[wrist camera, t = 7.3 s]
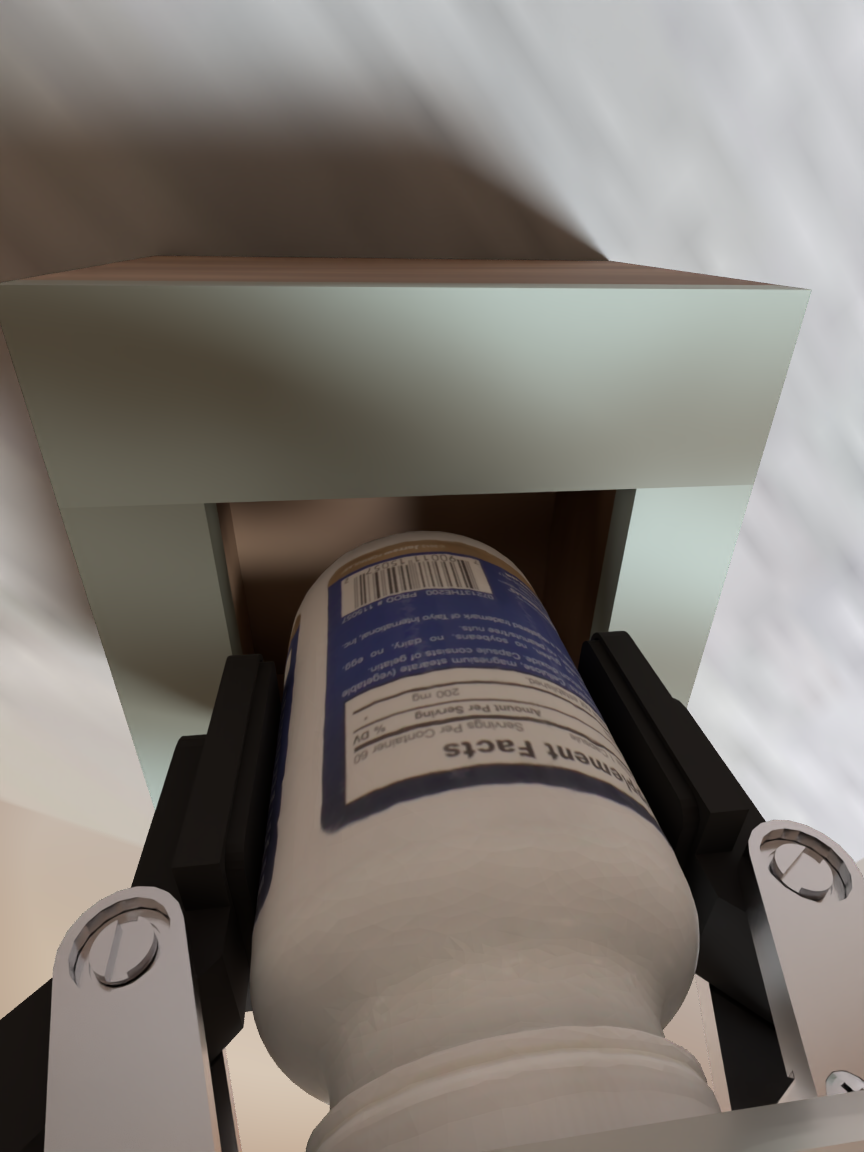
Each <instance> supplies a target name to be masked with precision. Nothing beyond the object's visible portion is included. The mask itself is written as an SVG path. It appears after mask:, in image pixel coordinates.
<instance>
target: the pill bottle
mask: <svg viewBox="0 0 864 1152" xmlns="http://www.w3.org/2000/svg"><path fill="white" fill-rule="evenodd" d="M699 941H700V939H699V921H698V914H697V910H696V906H695V903H694V899H693V896H692V893H691V890H690V887H689V885H688V882H687V880H686V878H685V876H684V874H683V872H682V870H681V867H680V865H679V863H678V861H677V858H676V856H675V853H674V851H673V849H672V847H671V845H670V843H669V842H668V840H667V838H666V837H665V835H664V833H663V832H662V830H661V828H660V826H659V824H658V822H657V820H656V818H655V816H654V814H653V812H652V810H651V809H650V807H649V805H648V803H647V801H646V799H645V797H644V795H643V793H642V792H641V790H640V788H639V786H638V784H637V783H636V781H635V778H634V776H633V775H632V773H631V771H630V769H629V767H628V765H627V763H626V761H625V759H624V757H623V756H622V754H621V752H620V750H619V748H618V747H617V745H616V743H615V741H614V739H613V737H612V735H611V733H610V731H609V729H608V727H607V725H606V723H605V721H604V719H603V718H602V716H601V714H600V712H599V710H598V708H597V707H596V705H595V703H594V701H593V699H592V697H591V696H590V694H589V692H588V690H587V688H586V686H585V684H584V682H583V680H582V678H581V676H580V674H579V672H578V670H577V668H576V667H575V665H574V663H573V661H572V659H571V657H570V655H569V653H568V652H567V650H566V648H565V646H564V644H563V643H562V641H561V639H560V637H559V635H558V633H557V631H556V629H555V627H554V625H553V623H552V622H551V620H550V617H549V615H548V613H547V611H546V609H545V608H544V606H543V605H542V603H541V602H540V600H539V598H538V596H537V595H536V593H535V591H534V590H533V588H532V586H531V585H530V583H529V582H528V580H527V579H526V577H525V576H524V575H523V573H522V572H521V571H520V570H519V569H518V568H517V567H516V566H515V565H514V563H513V562H512V561H510V560H509V559H508V558H506V557H505V556H504V555H502V554H501V553H499V552H498V551H496V550H495V549H494V548H492V547H490V546H488V545H486V544H484V543H482V542H480V541H477V540H474V539H471V538H468V537H465V536H462V535H457V534H453V533H448V532H441V531H411V532H405V533H399V534H394V535H390V536H386V537H383V538H379V539H376V540H373V541H370V542H367V543H364V544H362V545H360V546H359V547H357V548H355V549H353V550H351V551H349V552H347V553H345V554H344V555H343V556H341V557H340V558H339V559H337V560H336V561H335V562H334V563H333V564H332V565H331V566H330V567H329V568H327V569H326V570H325V571H324V572H323V573H322V574H321V576H320V577H319V578H318V579H317V580H316V582H315V583H314V584H313V585H312V587H311V588H310V589H309V590H308V592H307V594H306V595H305V597H304V599H303V601H302V603H301V605H300V607H299V610H298V612H297V614H296V617H295V620H294V624H293V628H292V632H291V638H290V642H289V648H288V655H287V660H286V666H285V679H284V691H283V697H282V703H281V714H280V722H279V730H278V738H277V746H276V754H275V762H274V770H273V778H272V785H271V793H270V801H269V810H268V819H267V827H266V836H265V844H264V852H263V859H262V866H261V872H260V880H259V888H258V896H257V905H256V913H255V920H254V926H253V933H252V952H251V967H250V996H251V1005H252V1011H253V1015H254V1020H255V1023H256V1026H257V1029H258V1032H259V1035H260V1037H261V1039H262V1041H263V1043H264V1045H265V1047H266V1049H267V1051H268V1052H269V1054H270V1056H271V1057H272V1058H273V1060H274V1061H275V1063H276V1064H277V1066H278V1067H279V1068H280V1069H281V1070H282V1072H283V1073H284V1074H285V1075H286V1076H287V1077H288V1078H289V1079H290V1080H291V1081H292V1082H293V1083H295V1084H296V1085H297V1086H299V1087H300V1088H301V1089H303V1090H304V1091H305V1092H307V1093H308V1094H310V1095H311V1096H313V1097H315V1098H317V1099H319V1100H321V1101H322V1102H324V1103H326V1104H328V1105H330V1111H329V1113H328V1114H327V1115H326V1116H325V1117H324V1118H323V1119H322V1121H321V1122H320V1123H319V1124H318V1126H317V1127H316V1128H315V1129H314V1130H313V1132H312V1134H311V1136H310V1138H309V1140H308V1143H307V1147H306V1152H482V1151H488V1150H494V1149H500V1148H506V1147H512V1146H518V1145H524V1144H530V1143H536V1142H543V1141H549V1140H555V1139H561V1138H567V1137H573V1136H579V1135H585V1134H591V1133H598V1132H604V1131H610V1130H616V1129H622V1128H628V1127H634V1126H640V1125H647V1124H653V1123H659V1122H665V1121H671V1120H677V1119H684V1118H690V1117H696V1116H703V1115H709V1114H715V1113H722V1112H721V1109H720V1106H719V1104H718V1101H717V1099H716V1097H715V1095H714V1093H713V1091H712V1090H711V1088H710V1087H709V1086H708V1085H707V1081H706V1077H705V1075H704V1072H703V1070H702V1068H701V1065H700V1063H699V1062H698V1061H697V1059H696V1058H695V1057H694V1056H693V1055H692V1054H691V1053H689V1052H688V1051H687V1050H686V1049H684V1048H683V1047H682V1046H679V1045H677V1044H675V1043H673V1042H671V1041H670V1040H668V1039H666V1038H665V1036H664V1033H663V1029H664V1028H665V1027H666V1026H667V1024H668V1023H669V1022H670V1021H671V1019H672V1018H673V1017H674V1015H675V1014H676V1013H677V1011H678V1010H679V1008H680V1007H681V1005H682V1003H683V1001H684V999H685V997H686V995H687V993H688V991H689V988H690V986H691V983H692V980H693V977H694V974H695V971H696V967H697V961H698V954H699Z"/></svg>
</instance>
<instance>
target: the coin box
mask: <svg viewBox="0 0 864 1152" xmlns="http://www.w3.org/2000/svg"><path fill="white" fill-rule="evenodd" d="M811 291H812V290H810V289H803V288H796V287H789V286H782V285H775V284H768V283H761V282H754V281H747V280H740V279H733V278H726V277H719V276H712V275H705V274H698V273H691V272H684V271H677V270H670V269H663V268H656V267H649V266H642V265H635V264H628V263H621V262H614V261H573V260H487V259H401V258H315V257H229V256H150V257H145V258H139V259H133V260H127V261H122V262H116V263H110V264H104V265H99V266H93V267H87V268H81V269H76V270H70V271H64V272H58V273H53V274H47V275H41V276H35V277H30V278H24V279H18V280H12V281H7V282H1V283H0V324H1V327H2V330H3V334H4V337H5V340H6V343H7V346H8V349H9V352H10V356H11V359H12V362H13V365H14V368H15V371H16V374H17V378H18V381H19V384H20V387H21V390H22V393H23V397H24V400H25V403H26V406H27V409H28V412H29V415H30V419H31V422H32V425H33V428H34V431H35V434H36V437H37V441H38V444H39V447H40V450H41V453H42V456H43V459H44V463H45V466H46V469H47V472H48V475H49V478H50V481H51V485H52V488H53V491H54V494H55V497H56V500H57V504H58V507H59V510H60V513H61V516H62V519H63V522H64V526H65V529H66V532H67V535H68V538H69V541H70V544H71V548H72V551H73V554H74V557H75V560H76V563H77V566H78V570H79V573H80V576H81V579H82V582H83V585H84V588H85V592H86V595H87V598H88V601H89V604H90V607H91V611H92V614H93V617H94V620H95V623H96V626H97V629H98V633H99V636H100V639H101V642H102V645H103V648H104V651H105V655H106V658H107V661H108V664H109V667H110V670H111V673H112V677H113V680H114V683H115V686H116V689H117V692H118V695H119V699H120V702H121V705H122V708H123V711H124V714H125V718H126V721H127V724H128V727H129V730H130V733H131V736H132V740H133V743H134V746H135V749H136V752H137V755H138V758H139V762H140V765H141V768H142V771H143V774H144V777H145V780H146V784H147V787H148V790H149V793H150V796H151V799H152V802H153V806H154V809H155V810H156V807H157V804H158V800H159V797H160V794H161V791H162V788H163V785H164V781H165V778H166V775H167V772H168V769H169V766H170V762H171V759H172V756H173V753H174V750H175V747H176V745H177V742H178V740H179V739H180V738H181V737H182V736H189V735H202V734H207V731H208V727H209V723H210V720H211V716H212V712H213V708H214V704H215V701H216V697H217V693H218V689H219V685H220V682H221V678H222V674H223V670H224V666H225V663H226V659H227V657H228V656H230V655H246V654H262V656H263V660H264V662H266V661H274V663H275V667H276V674H277V681H278V688H279V694H280V701H281V703H282V697H283V691H284V679H285V666H286V660H287V655H288V648H289V642H290V638H291V632H292V628H293V624H294V620H295V617H296V614H297V612H298V610H299V607H300V605H301V603H302V601H303V599H304V597H305V595H306V594H307V592H308V590H309V589H310V588H311V587H312V585H313V584H314V583H315V582H316V580H317V579H318V578H319V577H320V576H321V574H322V573H323V572H324V571H325V570H326V569H327V568H329V567H330V566H331V565H332V564H333V563H334V562H335V561H336V560H337V559H339V558H340V557H341V556H343V555H344V554H345V553H347V552H349V551H351V550H353V549H355V548H357V547H359V546H360V545H362V544H364V543H367V542H370V541H373V540H376V539H379V538H383V537H386V536H390V535H394V534H399V533H405V532H411V531H441V532H448V533H453V534H457V535H462V536H465V537H468V538H471V539H474V540H477V541H480V542H482V543H484V544H486V545H488V546H490V547H492V548H494V549H495V550H496V551H498V552H499V553H501V554H502V555H504V556H505V557H506V558H508V559H509V560H510V561H512V562H513V563H514V565H515V566H516V567H517V568H518V569H519V570H520V571H521V572H522V573H523V575H524V576H525V577H526V579H527V580H528V582H529V583H530V585H531V586H532V588H533V590H534V591H535V593H536V595H537V596H538V598H539V600H540V602H541V603H542V605H543V606H544V608H545V609H546V611H547V613H548V615H549V617H550V620H551V622H552V623H553V625H554V627H555V629H556V631H557V633H558V635H559V637H560V639H561V641H562V643H563V644H564V646H565V648H566V650H567V652H568V653H569V655H570V657H571V659H572V661H573V663H574V665H575V667H576V668H577V670H578V665H579V659H580V653H581V648H582V644H583V642H584V641H590V640H591V637H592V635H593V634H594V633H596V632H610V631H626V632H627V633H628V634H629V635H630V636H631V638H632V639H633V641H634V642H635V644H636V645H637V646H638V648H639V649H640V651H641V652H642V654H643V655H644V657H645V658H646V660H647V661H648V662H649V664H650V665H651V667H652V668H653V670H654V671H655V673H656V674H657V676H658V677H659V678H660V680H661V681H662V683H663V684H664V686H665V687H666V689H667V690H668V692H669V693H670V694H671V696H672V697H673V698H675V699H677V700H679V701H680V702H681V703H682V704H683V705H684V706H685V707H686V708H687V705H688V702H689V698H690V695H691V692H692V688H693V685H694V682H695V678H696V675H697V672H698V668H699V665H700V662H701V658H702V655H703V652H704V648H705V645H706V642H707V638H708V635H709V632H710V628H711V625H712V622H713V618H714V615H715V612H716V608H717V605H718V602H719V598H720V595H721V591H722V588H723V585H724V581H725V578H726V575H727V571H728V568H729V565H730V561H731V558H732V555H733V551H734V548H735V545H736V541H737V538H738V535H739V531H740V528H741V525H742V521H743V518H744V515H745V511H746V508H747V505H748V501H749V498H750V495H751V491H752V488H753V485H754V481H755V478H756V475H757V471H758V468H759V465H760V461H761V458H762V455H763V451H764V448H765V445H766V441H767V438H768V435H769V431H770V428H771V425H772V421H773V418H774V415H775V411H776V408H777V404H778V401H779V398H780V394H781V391H782V388H783V384H784V381H785V378H786V374H787V371H788V368H789V364H790V361H791V358H792V354H793V351H794V348H795V344H796V341H797V338H798V334H799V331H800V328H801V324H802V321H803V318H804V314H805V311H806V308H807V304H808V301H809V298H810V294H811Z"/></svg>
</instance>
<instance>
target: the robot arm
mask: <svg viewBox="0 0 864 1152" xmlns="http://www.w3.org/2000/svg"><path fill="white" fill-rule="evenodd" d="M578 672H579V674H580V676H581V678H582V680H583V682H584V684H585V686H586V688H587V690H588V692H589V694H590V696H591V697H592V699H593V701H594V703H595V705H596V707H597V708H598V710H599V712H600V714H601V716H602V718H603V719H604V721H605V723H606V725H607V727H608V729H609V731H610V733H611V735H612V737H613V739H614V741H615V743H616V745H617V747H618V748H619V750H620V752H621V754H622V756H623V757H624V759H625V761H626V763H627V765H628V767H629V769H630V771H631V773H632V775H633V776H634V778H635V781H636V783H637V784H638V786H639V788H640V790H641V792H642V793H643V795H644V797H645V799H646V801H647V803H648V805H649V807H650V809H651V810H652V812H653V814H654V816H655V818H656V820H657V822H658V824H659V826H660V828H661V830H662V832H663V833H664V835H665V837H666V838H667V840H668V842H669V843H670V845H671V847H672V849H673V851H674V853H675V856H676V858H677V861H678V863H679V865H680V867H681V870H682V872H683V874H684V876H685V878H686V880H687V882H688V885H689V887H690V890H691V893H692V896H693V899H694V903H695V906H696V910H697V914H698V921H699V939H700V941H699V954H698V961H697V967H696V971H695V978H696V983H697V990H698V996H699V1002H700V1009H701V1015H702V1021H703V1027H704V1033H705V1039H706V1045H707V1052H708V1058H709V1064H710V1070H711V1076H712V1082H713V1088H714V1094H715V1097H716V1099H717V1101H718V1104H719V1106H720V1109H721V1112H722V1113H715V1114H709V1115H703V1116H696V1117H690V1118H684V1119H677V1120H671V1121H665V1122H659V1123H653V1124H647V1125H640V1126H634V1127H628V1128H622V1129H616V1130H610V1131H604V1132H598V1133H591V1134H585V1135H579V1136H573V1137H567V1138H561V1139H555V1140H549V1141H543V1142H536V1143H530V1144H524V1145H518V1146H512V1147H506V1148H500V1149H494V1150H488V1151H482V1152H864V878H863V875H862V873H861V872H860V870H859V868H858V867H857V865H856V863H855V862H854V860H853V859H852V858H851V857H850V856H849V855H848V854H847V852H846V851H845V850H844V849H843V848H842V847H841V846H840V845H839V844H837V843H836V842H834V841H833V840H832V839H830V838H829V837H827V836H826V835H825V834H823V833H821V832H819V831H817V830H815V829H813V828H811V827H809V826H807V825H804V824H800V823H797V822H793V821H789V820H771V821H767V822H766V821H765V820H764V818H763V817H762V815H761V814H760V813H759V811H758V810H757V808H756V807H755V805H754V804H753V803H752V801H751V800H750V798H749V797H748V795H747V794H746V793H745V791H744V790H743V788H742V787H741V786H740V784H739V783H738V781H737V780H736V778H735V777H734V776H733V774H732V773H731V771H730V770H729V768H728V767H727V766H726V764H725V763H724V761H723V760H722V758H721V757H720V756H719V754H718V753H717V751H716V750H715V748H714V747H713V746H712V744H711V743H710V741H709V740H708V738H707V737H706V736H705V734H704V733H703V731H702V730H701V728H700V727H699V726H698V724H697V723H696V721H695V720H694V718H693V717H692V716H691V714H690V713H689V711H688V710H687V708H686V707H685V706H684V705H683V704H682V703H681V702H680V701H679V700H677V699H675V698H673V697H672V696H671V694H670V693H669V692H668V690H667V689H666V687H665V686H664V684H663V683H662V681H661V680H660V678H659V677H658V676H657V674H656V673H655V671H654V670H653V668H652V667H651V665H650V664H649V662H648V661H647V660H646V658H645V657H644V655H643V654H642V652H641V651H640V649H639V648H638V646H637V645H636V644H635V642H634V641H633V639H632V638H631V636H630V635H629V634H628V633H627V632H626V631H610V632H596V633H594V634H593V635H592V637H591V640H590V641H584V642H583V644H582V648H581V653H580V659H579V665H578ZM280 714H281V701H280V694H279V688H278V681H277V674H276V667H275V663H274V661H266V662H264V660H263V656H262V654H246V655H230V656H228V657H227V659H226V663H225V666H224V670H223V674H222V678H221V682H220V685H219V689H218V693H217V697H216V701H215V704H214V708H213V712H212V716H211V720H210V723H209V727H208V731H207V734H202V735H189V736H182V737H181V738H180V739H179V740H178V742H177V745H176V747H175V750H174V753H173V756H172V759H171V762H170V766H169V769H168V772H167V775H166V778H165V781H164V785H163V788H162V791H161V794H160V797H159V800H158V804H157V807H156V810H155V813H154V816H153V819H152V823H151V826H150V829H149V832H148V835H147V838H146V842H145V845H144V848H143V851H142V854H141V857H140V861H139V864H138V867H137V870H136V873H135V876H134V880H133V883H132V886H131V888H128V889H124V890H120V891H118V892H115V893H114V894H111V895H110V896H107V897H105V898H104V899H101V900H100V901H98V902H97V903H96V904H94V905H93V906H92V907H91V908H89V909H88V910H87V911H85V912H84V913H83V914H82V915H81V916H80V917H79V918H78V920H77V921H76V922H75V923H74V924H73V925H72V926H71V927H70V929H69V930H68V931H67V933H66V935H65V937H64V939H63V940H62V942H61V944H60V946H59V948H58V950H57V954H56V958H55V963H54V967H53V978H51V979H50V980H49V981H48V982H46V983H45V984H44V985H43V986H41V987H40V988H39V989H38V990H37V991H35V992H34V993H33V994H32V995H30V996H29V997H28V998H27V999H26V1000H24V1001H23V1002H22V1003H21V1004H19V1005H18V1006H17V1007H16V1008H14V1010H12V1011H11V1012H10V1013H8V1014H7V1015H6V1016H5V1017H3V1018H2V1019H1V1020H0V1152H242V1148H241V1141H240V1135H239V1129H238V1123H237V1117H236V1110H235V1104H234V1098H233V1092H232V1086H231V1080H230V1073H229V1067H228V1061H227V1055H226V1049H225V1047H226V1046H227V1045H228V1044H229V1043H230V1042H231V1040H232V1039H233V1038H234V1037H235V1036H236V1035H237V1034H238V1033H239V1032H240V1031H241V1029H242V1028H243V1025H244V1017H245V1012H248V1011H252V1005H251V996H250V967H251V952H252V933H253V926H254V920H255V913H256V905H257V896H258V888H259V880H260V872H261V866H262V859H263V852H264V844H265V836H266V827H267V819H268V810H269V801H270V793H271V785H272V778H273V770H274V762H275V754H276V746H277V738H278V730H279V722H280Z"/></svg>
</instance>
